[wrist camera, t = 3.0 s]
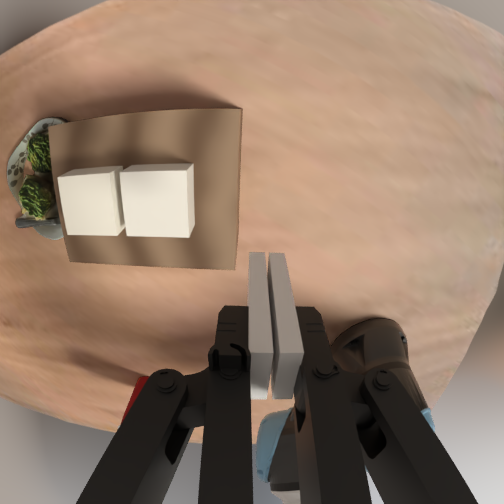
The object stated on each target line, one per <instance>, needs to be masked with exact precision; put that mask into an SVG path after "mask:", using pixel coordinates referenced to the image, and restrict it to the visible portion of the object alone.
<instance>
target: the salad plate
mask: <svg viewBox="0 0 504 504" xmlns="http://www.w3.org/2000/svg"><path fill="white" fill-rule="evenodd" d="M63 123H68V121H67V120H66V119H63V118H59V117H49V118H44V119H41V120H40V121H39V122H37V123H36V124H35V125H34V126H33V127H32V129H31V130H30V131H29V132H28V134H27V135H26V136H25V138H24V139H23V140H22V141H21V143H20V144H19V145H18V146H17V147H16V149H15V151H14V152H13V154H12V155H11V157H10V159H9V161H8V166H7V180H8V185H9V188H10V190H11V192H12V194H13V196H14V197H15V199H16V201H17V202H18V204H19V205H20V207H21V209H22V211H21V213H22V214H23V215H22V216H21V217H19V218H17V219H16V222H15V223H16V226H17V227H18V228H26V227H33V228H34V229H35V230H36V231H37V232H38V233H39V234H40V235H42V236H44V237H46V238H49V239H52V240H58V239H60V238H62V237H64V236H63V232H62V227H61V222H60V217H59V212H58V207H57V201H56V195H55V188H54V182H53V174H52V166H51V156H50V145H49V131H48V127H49V126H54V125H58V124H63ZM28 155H29V156H28ZM26 158H27V160H28V161H29V162H30V161H31V162H32V169H33V170H34V171H35V174H34V175H26V177H25V179H23V170H24V164H25V161H26Z"/></svg>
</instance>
